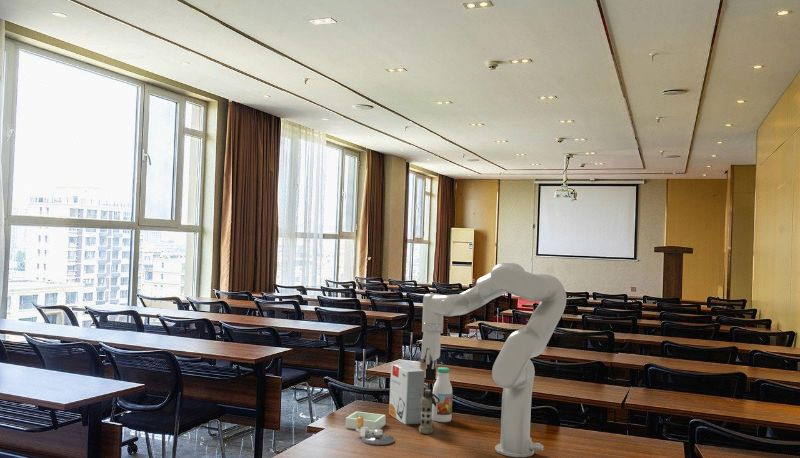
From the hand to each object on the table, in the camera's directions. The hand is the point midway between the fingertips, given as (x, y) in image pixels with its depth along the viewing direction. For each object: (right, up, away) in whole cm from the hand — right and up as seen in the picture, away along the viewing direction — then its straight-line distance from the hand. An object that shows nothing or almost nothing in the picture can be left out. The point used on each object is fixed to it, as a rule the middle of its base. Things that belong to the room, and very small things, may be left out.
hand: (430, 379), depth 239 cm
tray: (-24, -18, +4) cm, 30 cm away
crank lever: (-21, -16, -12) cm, 29 cm away
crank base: (-18, -18, -14) cm, 29 cm away
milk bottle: (+5, -20, +18) cm, 27 cm away
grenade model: (-1, -19, 0) cm, 19 cm away
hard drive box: (-9, -19, +17) cm, 27 cm away
